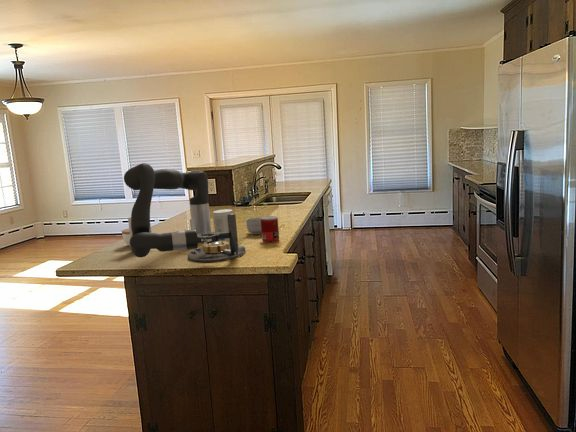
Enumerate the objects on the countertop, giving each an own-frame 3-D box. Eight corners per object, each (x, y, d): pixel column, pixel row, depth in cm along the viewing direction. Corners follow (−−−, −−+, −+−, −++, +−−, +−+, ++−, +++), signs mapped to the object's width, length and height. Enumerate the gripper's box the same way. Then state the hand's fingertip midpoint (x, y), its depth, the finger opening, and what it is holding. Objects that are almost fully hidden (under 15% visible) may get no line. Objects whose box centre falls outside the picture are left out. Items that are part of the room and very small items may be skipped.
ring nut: (198, 250, 194) (194, 213, 192) (220, 245, 202) (216, 209, 199) (225, 257, 180) (222, 217, 177) (247, 251, 187) (244, 212, 184)
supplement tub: (233, 238, 226) (230, 208, 224) (238, 241, 217) (235, 210, 215) (213, 240, 223) (210, 210, 220) (217, 244, 214) (214, 213, 212)
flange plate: (175, 259, 190) (174, 248, 189) (211, 246, 210) (210, 235, 210) (223, 263, 178) (222, 251, 177) (256, 249, 199) (255, 237, 198)
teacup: (243, 235, 230) (242, 219, 229) (253, 231, 240) (251, 216, 239) (268, 236, 225) (267, 219, 224) (277, 231, 235) (276, 216, 234)
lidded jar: (124, 248, 218) (122, 229, 217) (122, 244, 228) (120, 226, 226) (147, 245, 222) (145, 226, 221) (145, 241, 232) (143, 223, 231)
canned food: (277, 242, 209) (275, 218, 208) (260, 242, 211) (258, 219, 209) (280, 238, 217) (279, 215, 215) (264, 239, 218) (262, 216, 217)
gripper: (184, 233, 171) (230, 228, 175) (182, 227, 184) (226, 223, 188) (186, 253, 172) (232, 247, 177) (184, 246, 185) (227, 241, 189)
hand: (229, 235), depth 182 cm, fingers closed
